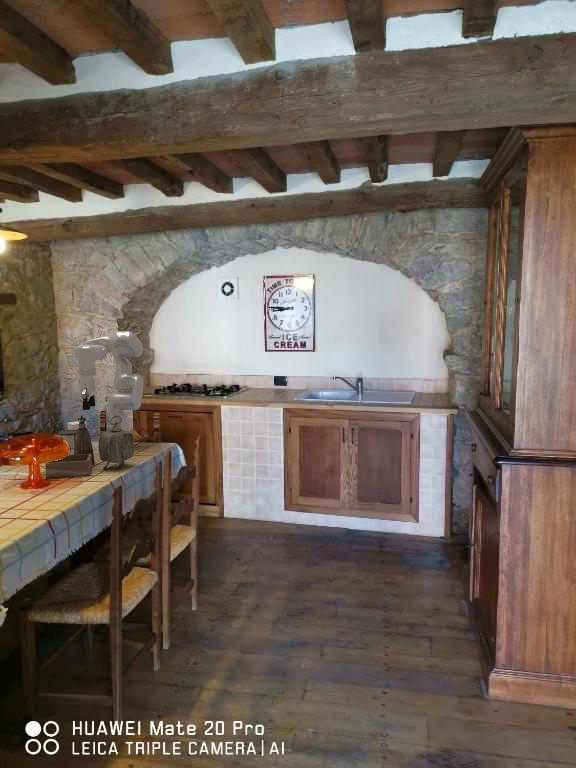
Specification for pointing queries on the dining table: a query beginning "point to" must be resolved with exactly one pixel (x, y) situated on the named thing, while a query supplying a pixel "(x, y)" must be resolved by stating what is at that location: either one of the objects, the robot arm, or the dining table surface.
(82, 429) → the brown tall tapered piece
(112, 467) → the dining table surface
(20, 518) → the dining table surface
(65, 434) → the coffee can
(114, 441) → the tabletop clock
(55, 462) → the walled box
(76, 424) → the skincare box
